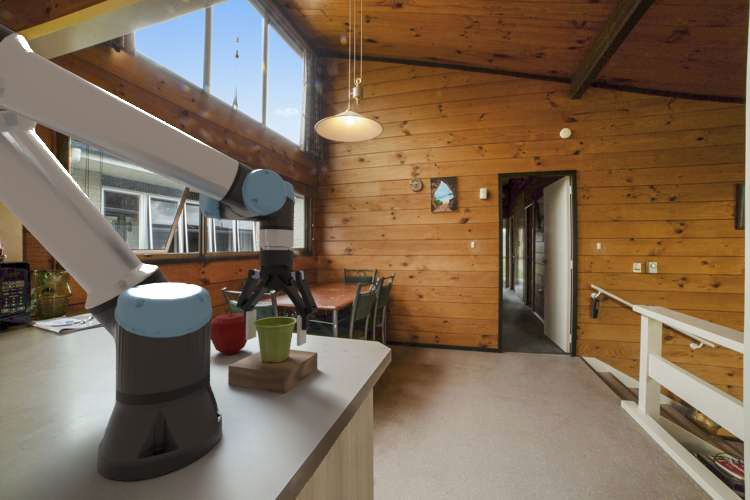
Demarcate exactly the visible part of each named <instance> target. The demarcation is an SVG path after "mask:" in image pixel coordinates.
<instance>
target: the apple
mask: <svg viewBox="0 0 750 500" xmlns="http://www.w3.org/2000/svg"><path fill="white" fill-rule="evenodd" d="M247 342H248V340H246V324H244V312H235V313H233V312H232V311H230V313H226V314H221V315H220V314H219V315H218V316H216V317H214V318H213V319H211V343H212V345H213V346H214V349H215V351H216V352H219V353H222V354H223V355H234V354H238V353H239V352H241V350H243V349H244V348H245V346H246V344H247Z"/></svg>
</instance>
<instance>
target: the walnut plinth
mask: <svg viewBox="0 0 750 500" xmlns="http://www.w3.org/2000/svg"><path fill="white" fill-rule="evenodd" d="M227 367H228V369H227V370H228V373H227V374H228V378H227V380H228V381H227V384H228V385H233V386H237V387H238V386H239V387H244V388H250V389H255V390H261V391H268V392H273V393H279V394H286V393H287V392H288V391H290V390H291V389H292V388H294V387H295V386H296V385H298V384H299V383H300V382H302V381H303V380H304V379H306V378H307V377H309V376H310V375H311V374H312V373H314V372H315V371H317V370H318V352H315V351H309V350H307V351H306V350H298V349H291V348H290V353H289V357H288V358H287V359H286V360H285V361H281V362H277V363H274V362H264V361H262V360H261V354H260V350H259V351H257V352H255V353H253V354H249V355H247V356H246V357H244V358H242V359H240V360H237V361H236V362H233V363H231V364H229V365H228V366H227ZM316 369H317V370H316Z"/></svg>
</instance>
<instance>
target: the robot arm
mask: <svg viewBox="0 0 750 500" xmlns="http://www.w3.org/2000/svg"><path fill="white" fill-rule="evenodd" d="M37 124H39V125H41V126H43V127H45V128H47V129H51V130H53V131H55V132H57V133H60V134H62V135H64V136H67V137H69V138H72V139H74V140H76V141H78V142H80V143H83V144H85V145H88V146H90V147H92V148H94V149H97V150H100V151H102V152H104V153H107V154H109V155H111V156H113V157H116V158H118V159H120V160H123V161H125V162H127V163H130V164H132V165H135V166H136V167H139V168H140V169H141V168H142V169H144V170H146V171H148V172H150V173H153V174H155V175H158V176H160V177H163V178H165V179H167V180H170V181H172V182H174V183H177V184H178V185H181V186H184V187H186V188H188V189H190V190H192V191H195V192H198V193H199V209H200V213H201V215H202V216H203V217H204V218H207V219H215V220H218V221H221V220H225V221H226V220H227V221H243V222H253V223H254V222H255V223H258V222H259V242H258V243H259V244H258V245H259V247H260V248H262V249H260V250H259V255H258V256H259V259H258V260H259V266H260V269H258V268H254V269H253V268H250V269H249V270H248V273H247V279H246V281H245V284H244V286H243V288H242V291H241V293H240V295H239V297H238V300H237V302H236V303H235V304H236V305H235V306H236V308H238V309H242V311H243V313H244V324H246V340H247V341H250V340H252V339H254V338H257V330H256V326H255V325H254V322H255V321H257V312H258V311H257V309H256V306H257V304H258V303H259V301H260V300H261V299H262V298H263V297H264V295H265V294H266V293H267V291H269V290H275V291H283V293H285V294H286V295H287V297H288V299H290V301H291V303H292V304H293V306H294V307H295V309H296V310H297V312H298V313H299V314H298V315H297V317H296V320H297V322H296V346H298V347H300V346H302V345H305V344H306V343H307V330H309V328H310V319H311V317H310V315H312V314H313V313H316V312H318V310H319V307H318V305H317V304H316V300H315V298H314V295H313V294H312V291H311V288H310V286H309V284H308V281H307V279H306V278H307V276H306V271H305V270H296V271H294V270H293V266H294V258H295V257H294V255H295V254H294V251H293V250H292V249H293V248H294V241H295V238H294V236H295V235H294V233H295V231H294V227H295V205H296V202H295V190H294V189H295V188H294V186H293V184H291V183H290V181H289V182H288V181H286V180H283V178H282V177H281V175H280V174H278V172H275V171H273V170H271V169H270V168H269V169H268V168H256V169H254V168H252V167H250V166H249V165H246V164H244V163H242V162H240V161H238V160H236V159H235V158H232V157H230V156H228V155H227V154H225V153H223V152H221V151H219V150H217V149H215V148H213V147H212V146H210V145H208V144H206V143H204V142H202V141H200V140H199V139H197V138H194V136H191V135H189V134H187V133H186V132H184V131H182V130H180V129H179V128H176V127H174V126H172V124H169V123H166V121H163V120H161V119H159V118H157V117H155V116H154V115H152V114H150V113H148V112H146V111H144V110H143V109H140V108H139V107H136V106H135V105H133V104H131V103H129V102H127V101H125V100H124V99H121V98H120V97H118V96H117V95H114V94H113V93H111V92H109V91H108V90H107V91H106V90H105V89H103V88H101V87H100V86H98V85H95V84H94V83H92V82H90V81H88V80H86V79H85V78H82V77H81V76H79V75H77V74H75V73H73V72H72V71H69V70H68V69H65V68H63V67H62V66H60V65H58V64H57V63H55V62H53V61H51V60H49V59H47V58H46V57H43V56H41V55H40V54H38V53H36V52H35V51H33V50H32V48H31V47H30V45H29V43H28V41H27V40H26V39H25V37H24V36H23V35H21V34H19V33H18V32H16V31H14V30H11V29H9V28H8V27H6V26H5V25H3V24H1V23H0V202H1V203H2V204H3V206H5V207H6V208H7V210H9V211H10V213H11V214H12V215H13V216H14V217H15V218H16V219H17V220H18V221H19V222H20V223H21V224H22V225H23V227H25V228H26V230H27V231H28V232H29V233H30V234H31V235H32V236H33V237H34V239H36V240H37V241H38V242H39V243H40V245H41V246H43V248H44V249H45V250H46V252H48V253H49V254H50V255H51V257H53V259H55V261H57V262H58V263H59V265H60V266H61V267H62V268H63V269H64V270H65V271H66V272H67V273H68V274H69V275H70V276H71V277H72V279H74V280H75V282H76V283H77V284H78V285H79V286H80V287H81V288H82V289H83V290H84V291H85V292H86V295H87V297H86V300H85V304H84V308H85V309H86V310H87V311H88V313H90V314H91V316H93V318H95V320H96V321H97V322H98V323H99V324H100V325H101V326H102V328H104V329H105V330H106V331H107V332H108V333H109V334H110V335H111V337H113V341H114V343H115V402H114V403H115V404H114V407H113V410H112V412H111V414H110V417H109V419H108V422H107V425H106V428H105V430H104V434H103V437H102V439H101V441H100V442H99V445H98V449H97V469H98V472H99V473H100V474H101V475H102V476H103V477H105V478H108V479H112V480H116V481H137V480H145V479H150V478H154V477H158V476H162V475H165V474H169V473H171V472H175V471H176V470H179V469H182V468H183V467H185V466H188V465H189V464H191V463H194V462H195V461H196V460H198V459H200V458H201V457H203V456H204V455H206V454H207V453H208V452H209V451H211V449H213V448H214V447H215V446H216V445H217V444H218V442H219V440H220V439H221V437H222V433H223V418H222V417H223V416H222V412H221V411H220V409H219V407H218V403H217V402H218V401H217V399H216V397H215V394H214V391H213V388H212V385H211V354H212V353H211V350H212V349H211V347H212V346H211V343H212V341H211V321H212V315H213V307H212V301H211V300H212V299H211V295H210V293H209V291H208V290H207V289H206V288H205V287H202V286H200V285H197V284H193V283H192V284H191V283H190V284H188V283H184V282H171V281H170V280H169V279H168V277H166V275H165V273H163V271H162V270H161V269H160V267H159V266H158V265H154V264H148V263H147V264H146V263H144V262H142V261H141V260H140V259H139V257H138V256H137V255H136V254H135V252H134V251H133V250H132V249H131V248H130V246H129V245H128V244H127V243H126V242H125V240H124V239H123V237H122V236H120V234H119V233H118V232H117V231H116V229H115V228H114V227H113V225H112V224H111V223H110V222H109V221H108V219H106V217H105V216H104V215H103V213H101V211H100V210H99V209H98V208H97V206H96V205H95V204H94V203H93V201H92V200H91V199H90V198H89V197H88V195H87V194H86V193H85V192H84V190H83V189H82V188H81V186H79V184H78V183H77V182H76V180H74V178H73V177H72V176H71V174H70V173H69V172H68V170H66V169H65V167H64V166H63V165H62V164H61V163H60V161H59V160H58V159H57V158H56V156H55V155H54V154H53V152H51V151H50V149H49V148H48V147H47V146H46V143H44V142H43V141H42V139H41V138H40V137H39V136H38V134H36V126H37ZM259 280H260V282H259ZM292 280H294V281H295V284H296V285H295V284H294V283H293V281H292ZM258 282H259V284H258ZM296 286H297V289H298V290H297V289H296ZM256 287H257V288H256ZM255 288H256V289H255ZM298 291H299V292H298Z"/></svg>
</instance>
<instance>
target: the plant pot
mask: <svg viewBox="0 0 750 500" xmlns="http://www.w3.org/2000/svg"><path fill="white" fill-rule="evenodd" d="M296 324H297V318H294V317H290V316H289V317H288V316H272V317H264V318H261V319H256V321H255V322H254V325H255V326H256V333H257V336H258V345H259V351H260V354H261V360H262V361H264V362H274V363H277V362H281V361H285V360H286V359H287V358H288V357H289V353H290V349H291V344H292V339H293V338H292V337H293V331H294V329H295V327H296V326H295V325H296Z"/></svg>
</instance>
